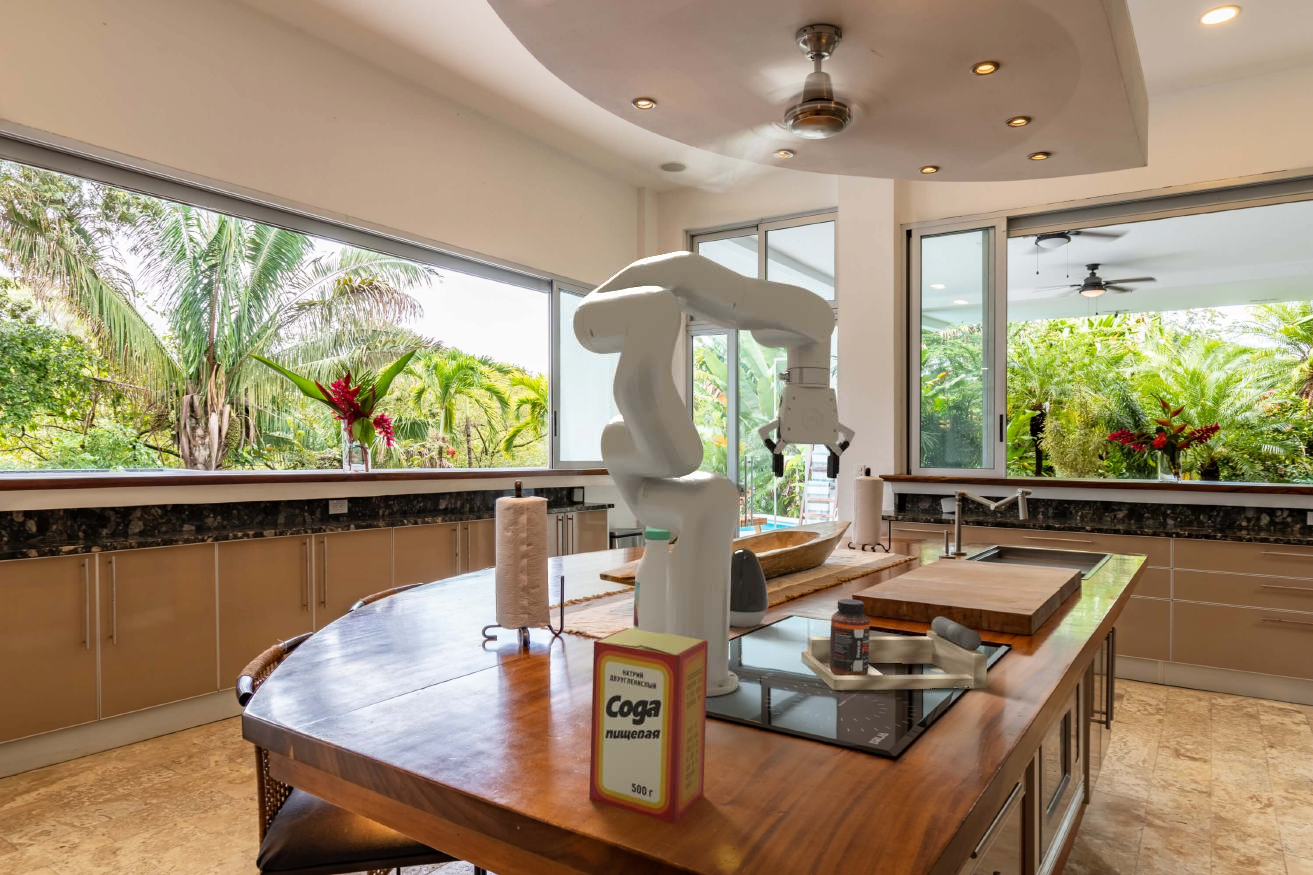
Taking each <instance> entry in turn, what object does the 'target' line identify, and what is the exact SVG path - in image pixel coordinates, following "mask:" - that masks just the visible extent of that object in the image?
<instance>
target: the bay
mask: <svg viewBox="0 0 1313 875" xmlns="http://www.w3.org/2000/svg"><path fill="white" fill-rule="evenodd" d="M931 629H932V630H926V636H923V635H922V636H869V663H902V664H908V665H909V664H932V665H934V666H936V667H937V668H939V669H941V670H942V671H944V672H945V673H947V674H883V673H881V672H880V671H879V670H877V669H876V668H874V667H873V666H871V664H868V666H869V668H868V673H867V675H848V676H840V675H837V674H835V673H833V672H832V671H831V670H830V636H807V647H806V648H807V651H801V659H800V660H801V662H802V663H803V664H804V665H807V666H806V667H808V668H809V670H811V671H812V672H813V673H814V674H816V676H818V677H819V678H820V679H821V680H822V681H824V683H825V684H827V685H828V687H830V689H832V690H834V691H859V690H860V691H862V690H863V691H865V690H866V691H868V690H870V691H871V690H878V691H879V690H933V689H932V688H954V687H965V686H967V687H969V688H968V689H987V681H988V680H987V677H988V676H987V675H988V673H987V670H988V654H986V653H984V652H982V651H980V650H978V649H979V648H980V646H981V644H982V637H981V634H980V633H978V632H977V631H975V630H973V629H971V628H970V627H969V628H968V627H966V626H964V625H962V624H960V623H957V622H955V621H954V620H951V619H949V618H946V617H945V616H936V617H935V618H934V619H932V621H931ZM930 688H931V689H930Z"/></svg>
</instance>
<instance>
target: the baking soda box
mask: <svg viewBox="0 0 1313 875" xmlns="http://www.w3.org/2000/svg"><path fill="white" fill-rule="evenodd" d="M707 651H708V641H705V640H699V639H694V638H688V637H683V636H678V635H672V634H667V633H663V634H661V633H654V632H648V631H642V630H635V629H633V628H627V627H626V628H623V629H621V630H618V631H616V632H613V633H611V634H608V635H606V636H603V637H602V638H598V639H597V640H593V663H592V667H593V669H592V695H591V696H592V698H591V726H590V728H591V729H590V730H591V731H590V734H591V735H590V758H589V759H590V760H589V762H590V765H589V766H590V768H589V793H588V796H589V797H588V799H589V800H593V801H595V802H598V803H601V804H602V803H603V804H606V805H609V806H612V807H616V808H620V809H624V810H627V811H630V812H633V813H634V812H635V813H637V814H641V815H644V816H649V817H652V818H654V819H658V820H662V821H666V822H669V823H672V824H676V823H677V822H678V821H679V820H681V818H682V817H683V816H684V815H685V814H686V813H688V812H689V810H691V809H692V808H693V807H694V806H695V804H696V803H698V802H699V801H700V800H701V799H702V798H703V796H704V789H705V788H704V786H705V752H706V751H705V750H706V717H707V696H706V686H707Z"/></svg>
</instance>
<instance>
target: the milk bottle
mask: <svg viewBox="0 0 1313 875" xmlns="http://www.w3.org/2000/svg"><path fill="white" fill-rule="evenodd" d="M644 542H645V547H644V550H643V554H642V556H641V559H640V561H639V563H638V565H637V568H636V572H635V577H634V578H635V579H634V597H633V599H634V600H633V624H632V625H633V627H632V629H635V630H642V631H648V632H654V633H661V634H663V633H665V621H666V587H667V563H668V558H669V555H670V553H671V551H670V548H669V547H670V546H669V544H670V543H671V531H667V530H660V529H654V528H646V529H645V531H644Z"/></svg>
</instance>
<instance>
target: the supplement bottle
mask: <svg viewBox="0 0 1313 875" xmlns="http://www.w3.org/2000/svg"><path fill="white" fill-rule="evenodd" d="M836 607H837V608H836V609H838V611H836V612H835V613H833V614H832V615H831V618H830V636H829V637H830V670H831V671H832V672H833V673H835V674H837V675H840V676H848V675H867V673H868V668H869V666H868V664H869V637H870V631H871V630H870V629H871V628H870V618H869V617H868V616H867V615H866V614H865V612H864V610H865V608H864V607H865V602H863V601H862V600H858V599H851V598H850V599H849V598H843V599H841V598H840V599H838V600H837V606H836ZM869 665H870V664H869Z"/></svg>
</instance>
